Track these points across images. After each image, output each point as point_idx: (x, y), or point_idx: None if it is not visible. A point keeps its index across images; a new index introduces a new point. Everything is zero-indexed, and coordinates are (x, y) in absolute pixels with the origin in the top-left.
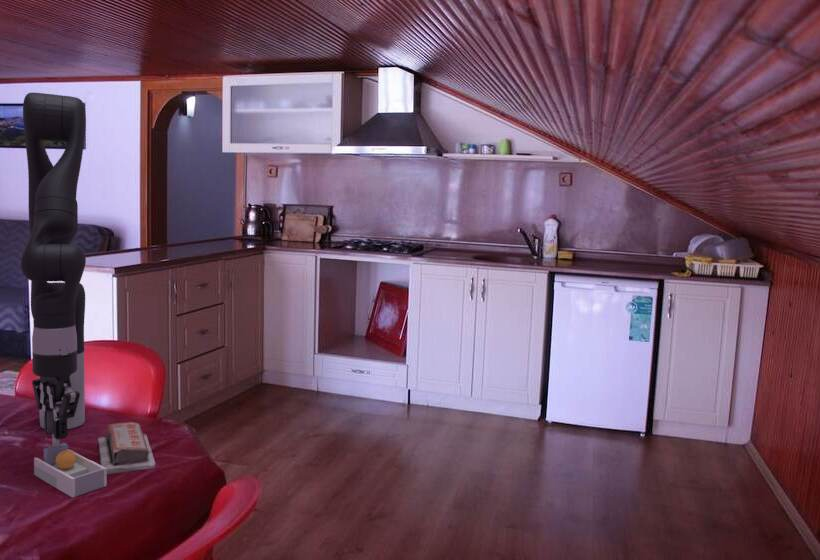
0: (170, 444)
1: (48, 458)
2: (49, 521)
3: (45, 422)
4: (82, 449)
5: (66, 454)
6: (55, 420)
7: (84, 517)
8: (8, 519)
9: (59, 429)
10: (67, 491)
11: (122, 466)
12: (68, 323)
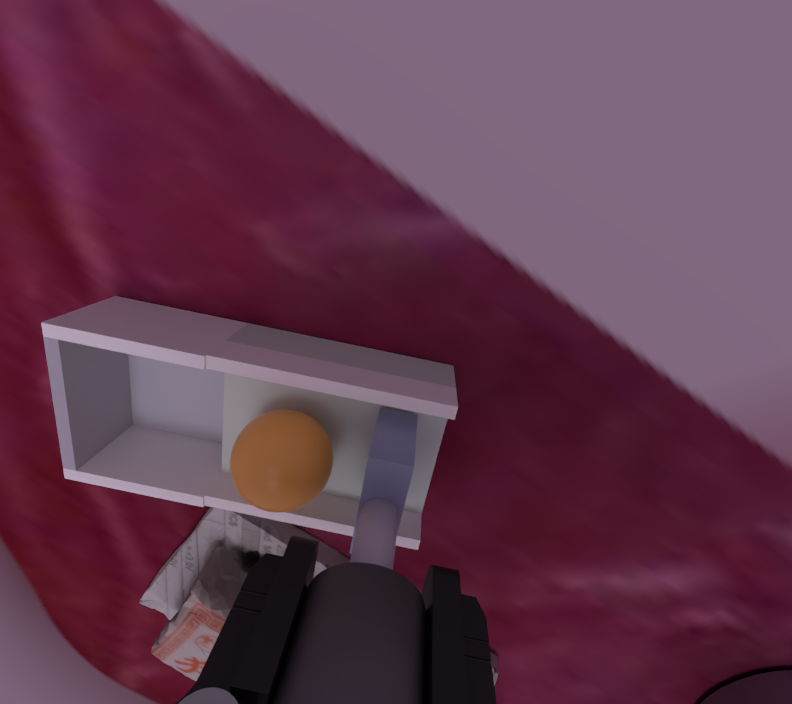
0: None
1: (374, 432)
2: None
3: (444, 658)
4: (499, 599)
5: (238, 470)
6: (213, 695)
7: None
8: None
9: (233, 610)
10: (147, 308)
11: (198, 549)
12: None
